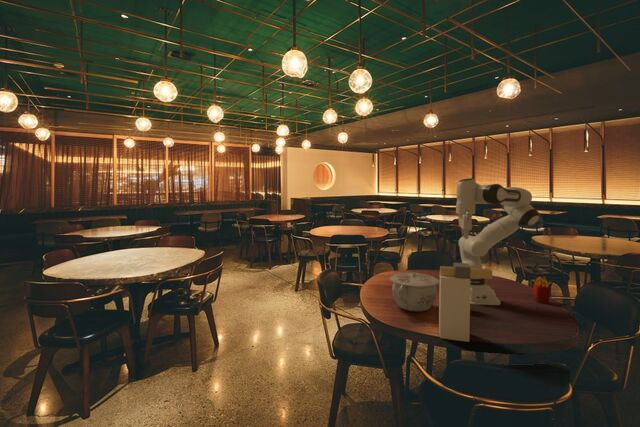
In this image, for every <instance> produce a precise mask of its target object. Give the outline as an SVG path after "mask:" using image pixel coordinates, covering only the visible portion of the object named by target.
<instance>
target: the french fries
mask: <svg viewBox="0 0 640 427" xmlns="http://www.w3.org/2000/svg"><path fill="white" fill-rule="evenodd" d="M531 282H534V283H533V292H534V301H535V302H537V303H538V304H549V300H550V296H551V295H550V294H551V289H552V287H551V286H550V285H551V284H552V281H549V282H548V281H547V278H546V277H545V276H543V277H541V276H540V277H537V278H535V279H531Z"/></svg>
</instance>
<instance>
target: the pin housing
mask: <svg viewBox="0 0 640 427" xmlns="http://www.w3.org/2000/svg"><path fill="white" fill-rule="evenodd" d="M453 267H455V276H440V275H439V281H440V282H439V293H438V294H439V298H438V299H439V301H438V303H439V304H438V306H439V309H438V331H439V338H440V339H445V340H451V341H458V342H459V341H460V342H468V343H469V342H470V332H471V331H470V329H471V328H470V327H471V326H470V323H471V322H470V321H471V320H470V319H471V303H470V266H469V265H468V263H462V262H453Z"/></svg>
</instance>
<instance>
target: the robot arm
mask: <svg viewBox="0 0 640 427" xmlns="http://www.w3.org/2000/svg"><path fill="white" fill-rule="evenodd" d="M455 194H456V203H455V214H457V215H458V218H457V219H458V224H459V225H458V226H459V227H460V228H461V237H460V238H459V239H458V247H459V253H460V258H461V263H468V265H469V266H470V268H483V264H482V260H481V257H484V256H486V255H487V254H488V252H489V250H490V249H491V248H493V246H495V245H496V244H497V243H499V242H501V241H502V240H504V239H506V238H508V237H509V236H511V235H512V234H514V233H515V232H516V231H517V230H519V229H520V228H523V227H530V226H533V225H535V224H536V223H537V222H539V220H540V218H541V214H540V212H539V211H538V210H537V209H536V208H534V207H533V206H532V204H530V203H531V202H532V200H533V195H532V193H531V192H530V190H528V189H525V188H523V187H516V186H507V187H504V186H502V185H501V184H500V183H493V184H479V183H477V182H476V180H475V179H474V178H472V177H470V178H463V179H459V180H458V182H457V185H456V193H455ZM476 204H477V205H479V204H481V205H494V206H495V205H496V206H497V205H500V207H501V209H503V211H504V212H506V213H507V215H506V216H503V217H501V218H498V219H497V220H495V221H493V222H492V223H490V224H489V225H486V226H485V227H484V228H483V229H482V230H481V231H480V232H479V233H478V234H476V235H475V236H474V235H469V234H470V231H472V229H473V227H472V226H473V225H472V224H473V223H472V222H473V220H472V219H473V215H475V214H476ZM488 282H489V281H488V279H485V278H470V291H471V293H470V305H471V304H472V305H479V306H481V305H483V306H486V305H487V306H500V305H501V300H500V299H499V298H498V297H497V295H496V292H495V290H494V289H493V288H491V287H490V286H489V285H487V284H488Z"/></svg>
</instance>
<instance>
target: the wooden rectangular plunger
mask: <svg viewBox="0 0 640 427" xmlns="http://www.w3.org/2000/svg"><path fill="white" fill-rule="evenodd" d="M440 276H455V267H454V266H447V265H440V266H439V277H440ZM470 278H484V279H486V280H493V270H492V269H491V268H483V267H482V268H470Z"/></svg>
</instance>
